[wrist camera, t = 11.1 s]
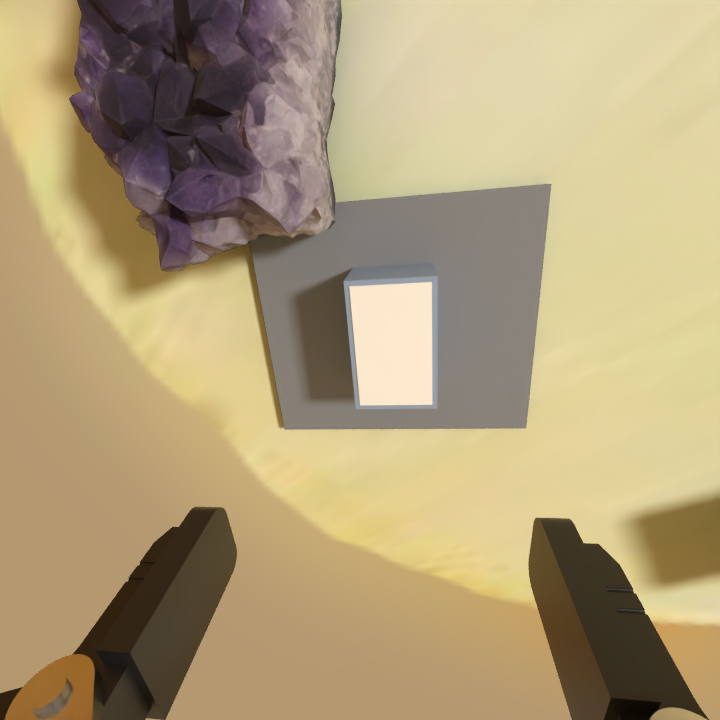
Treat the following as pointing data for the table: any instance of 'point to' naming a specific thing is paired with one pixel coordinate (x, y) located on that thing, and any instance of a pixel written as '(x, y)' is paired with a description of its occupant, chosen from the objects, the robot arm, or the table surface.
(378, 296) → the card box
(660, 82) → the table surface
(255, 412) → the table surface
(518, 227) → the rubber mat
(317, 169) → the geode
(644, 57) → the table surface
